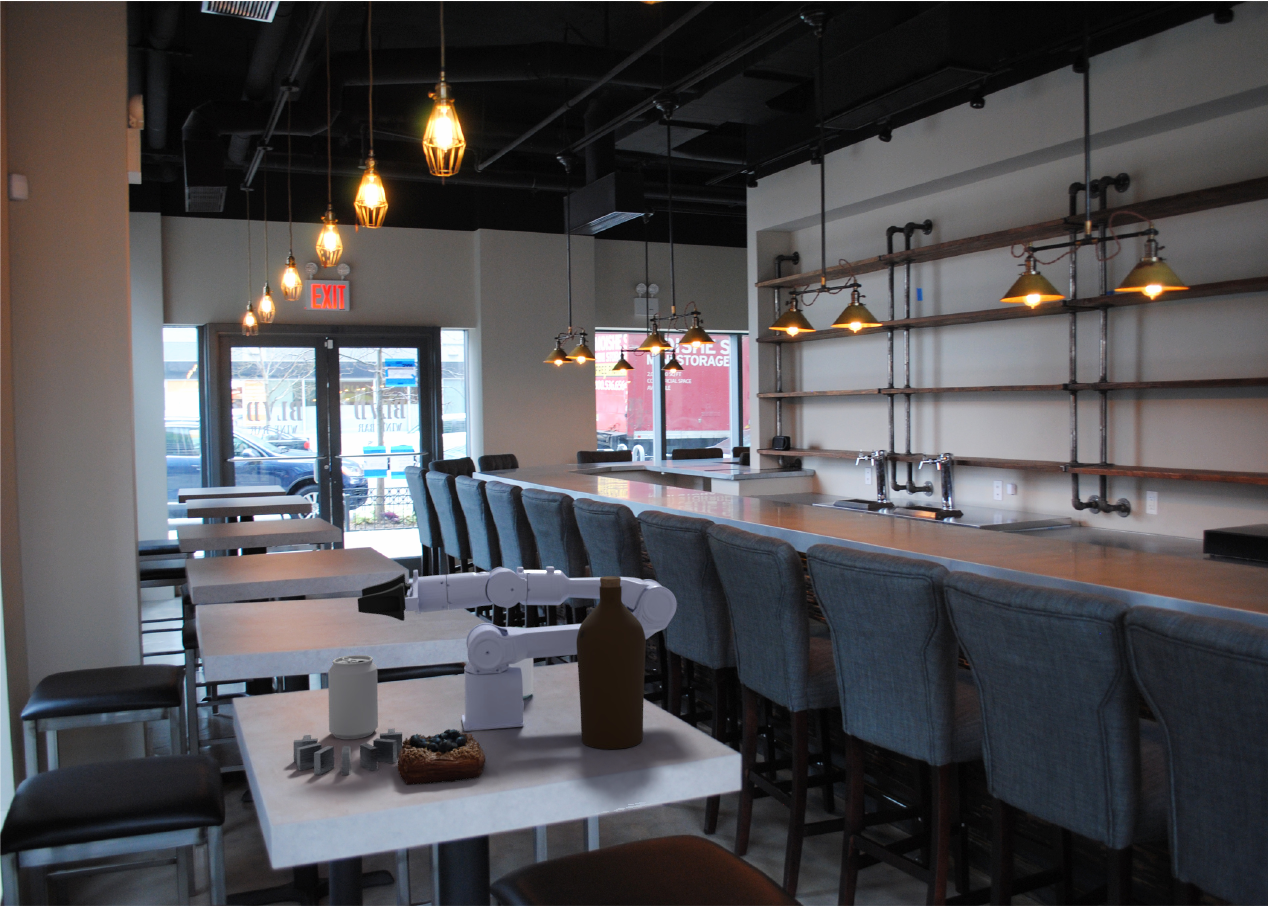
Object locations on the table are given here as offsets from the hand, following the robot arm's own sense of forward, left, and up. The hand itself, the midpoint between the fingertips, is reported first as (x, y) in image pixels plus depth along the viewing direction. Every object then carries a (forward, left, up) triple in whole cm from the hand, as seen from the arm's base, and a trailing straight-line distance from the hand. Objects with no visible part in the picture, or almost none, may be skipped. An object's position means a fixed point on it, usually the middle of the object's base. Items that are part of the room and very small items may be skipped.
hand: (360, 600), depth 153 cm
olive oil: (-38, +15, -21) cm, 46 cm away
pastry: (-12, +22, -22) cm, 33 cm away
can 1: (+1, +1, -21) cm, 21 cm away
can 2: (-26, -15, -21) cm, 37 cm away
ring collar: (+1, +15, -21) cm, 26 cm away
